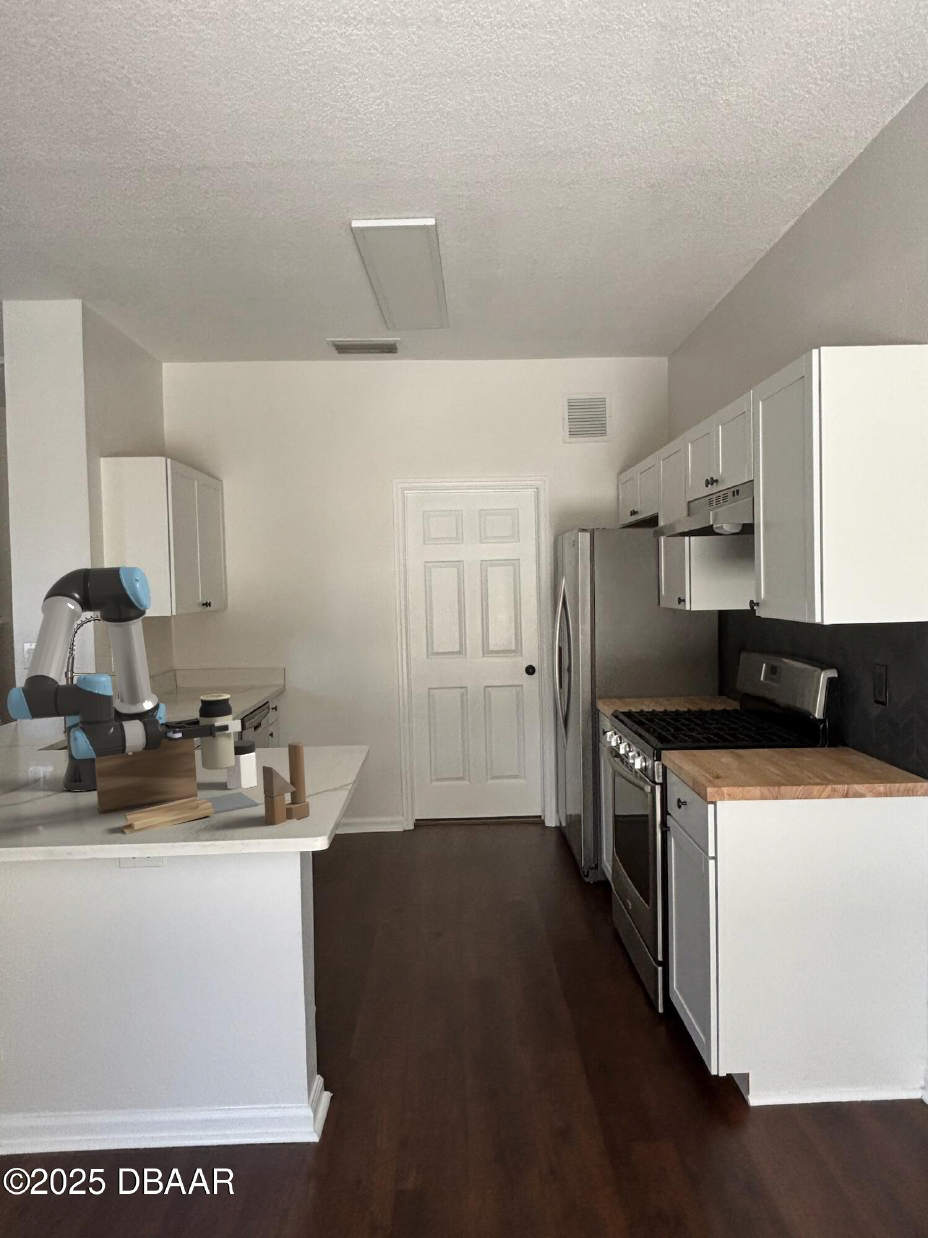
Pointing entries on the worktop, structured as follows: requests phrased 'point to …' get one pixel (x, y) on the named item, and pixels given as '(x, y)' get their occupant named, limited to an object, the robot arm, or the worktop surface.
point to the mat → (230, 802)
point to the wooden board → (146, 777)
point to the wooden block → (286, 789)
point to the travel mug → (220, 748)
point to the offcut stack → (166, 815)
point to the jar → (243, 766)
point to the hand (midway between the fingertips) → (235, 723)
